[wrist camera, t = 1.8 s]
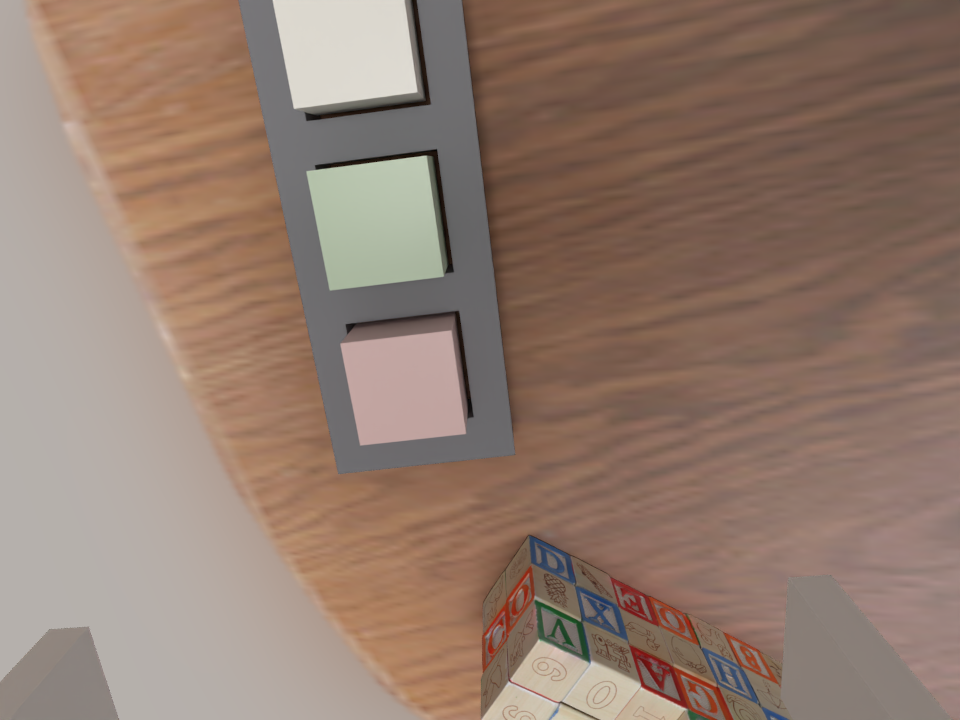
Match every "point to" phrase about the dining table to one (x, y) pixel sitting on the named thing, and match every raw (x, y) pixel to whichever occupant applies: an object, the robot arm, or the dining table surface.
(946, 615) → the dining table surface
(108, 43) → the dining table surface
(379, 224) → the sage button
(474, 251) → the button panel
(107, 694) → the robot arm
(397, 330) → the rose button
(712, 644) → the stack of blocks
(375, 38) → the white button
